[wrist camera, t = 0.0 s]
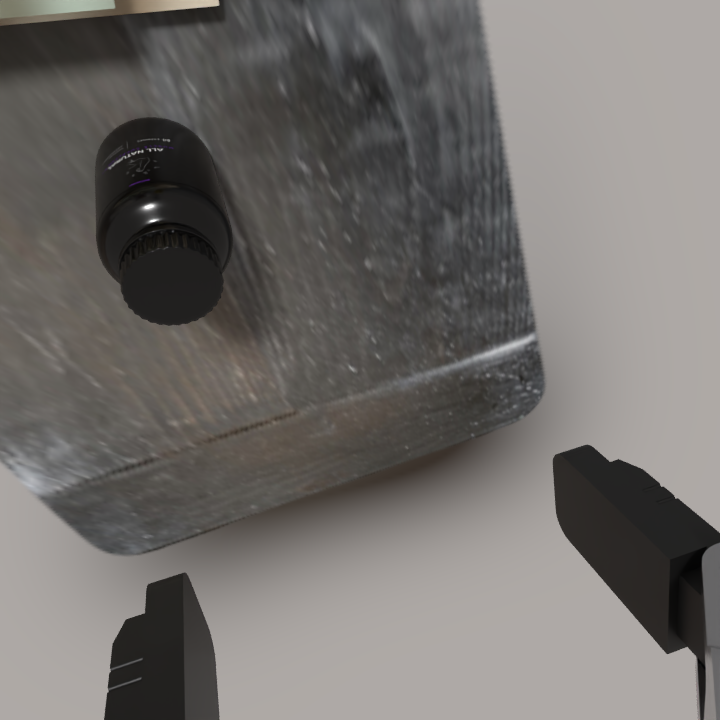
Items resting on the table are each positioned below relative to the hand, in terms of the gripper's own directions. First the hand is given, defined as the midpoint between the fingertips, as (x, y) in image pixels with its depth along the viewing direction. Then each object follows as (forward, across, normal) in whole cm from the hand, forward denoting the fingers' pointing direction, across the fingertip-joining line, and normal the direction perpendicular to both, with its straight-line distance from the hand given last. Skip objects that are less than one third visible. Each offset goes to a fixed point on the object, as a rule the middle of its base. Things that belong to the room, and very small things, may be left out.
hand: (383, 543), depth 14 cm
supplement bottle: (+32, +4, -5) cm, 33 cm away
